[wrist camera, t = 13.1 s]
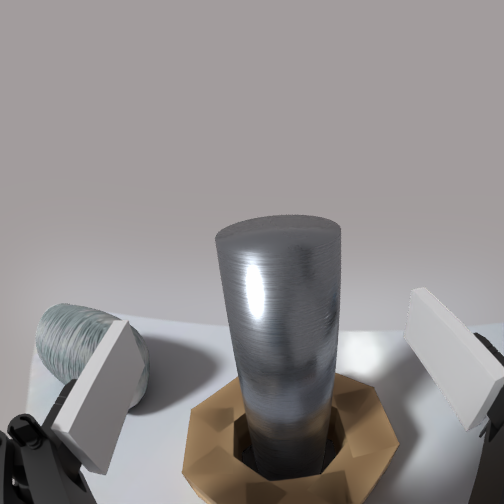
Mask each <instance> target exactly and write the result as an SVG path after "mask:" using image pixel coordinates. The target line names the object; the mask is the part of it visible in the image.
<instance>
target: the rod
mask: <svg viewBox="0 0 504 504" xmlns="http://www.w3.org/2000/svg"><path fill="white" fill-rule="evenodd" d="M215 241H216V248H217V254H218V261H219V268H220V274H221V280H222V286H223V292H224V299H225V305H226V311H227V317H228V322H229V328H230V334H231V339H232V345H233V351H234V356H235V361H236V367H237V372H238V377H239V383H240V388H241V393H242V398H243V403H244V408H245V413H246V418H247V423H248V428H249V432H250V437H251V442H252V446H253V451H254V456H255V460H256V465H257V469H258V473H259V475H261V476H262V477H264V478H265V479H267V480H268V481H279V480H287V479H295V478H302V477H309V476H315V475H319V474H320V472H321V470H322V465H323V460H324V454H325V448H326V442H327V435H328V428H329V421H330V414H331V406H332V397H333V389H334V379H335V369H336V357H337V345H338V330H339V312H340V284H341V228H340V226H339V225H338V224H337V223H335V222H333V221H331V220H329V219H325V218H321V217H316V216H307V215H277V216H267V217H260V218H254V219H250V220H245V221H242V222H238V223H235V224H233V225H230V226H228V227H226V228H224V229H222V230H221V231H220V232H218V234H217V235H216V237H215Z"/></svg>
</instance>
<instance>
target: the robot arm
mask: <svg viewBox="0 0 504 504" xmlns="http://www.w3.org/2000/svg"><path fill="white" fill-rule="evenodd" d="M403 337H404V338H405V340H406V341H407V342H408V344H409V345H410V347H411V348H412V349H413V351H414V352H415V354H416V355H417V357H418V358H419V359H420V361H421V362H422V364H423V365H424V367H425V368H426V370H427V371H428V373H429V374H430V375H431V377H432V378H433V380H434V381H435V383H436V384H437V386H438V388H439V389H440V391H441V392H442V394H443V395H444V397H445V398H446V400H447V401H448V403H449V405H450V406H451V408H452V409H453V411H454V412H455V414H456V416H457V417H458V419H459V421H460V422H461V424H462V425H463V427H464V429H465V430H466V431H468V430H470V429H472V428H474V427H476V426H478V425H480V424H481V422H482V421H483V419H484V418H485V416H486V415H487V416H488V417H489V419H490V420H489V421H488V423H487V424H486V426H485V427H484V429H483V430H482V432H481V433H480V436H479V437H482V436H483V434H484V433H485V431H486V434H485V437H484V438H485V439H484V445H483V450H482V455H481V459H480V464H479V468H478V472H477V476H476V479H475V483H474V486H473V490H472V493H471V496H470V500H469V503H468V504H504V356H503V355H502V354H501V353H500V352H498V350H497V349H496V348H495V347H493V345H492V344H491V343H490V342H489V341H488V340H487V339H486V338H485V337H483V336H482V335H480V334H478V333H472V332H471V331H470V330H469V329H468V328H467V327H466V326H465V325H464V324H463V323H462V322H461V321H460V320H459V319H457V317H456V316H455V315H454V314H453V313H452V312H451V311H450V310H449V309H447V307H445V306H444V305H443V304H442V303H441V302H440V301H439V300H438V299H437V298H436V297H435V296H434V295H433V294H432V293H431V292H429V290H427V289H426V288H425V287H422V288H416V289H412V291H411V298H410V304H409V310H408V316H407V321H406V326H405V331H404V336H403ZM144 367H145V364H144V362H143V359H142V357H141V354H140V351H139V349H138V346H137V343H136V341H135V338H134V335H133V332H132V330H131V327H130V324H129V321H128V320H115V321H113V323H112V325H111V326H110V328H109V329H108V331H107V332H106V334H105V335H104V337H103V339H102V340H101V342H100V343H99V345H98V347H97V348H96V350H95V351H94V353H93V355H92V356H91V358H90V360H89V361H88V363H87V365H86V366H85V368H84V370H83V371H82V373H81V375H80V376H79V378H78V379H72V380H71V381H70V382H69V383H67V384H66V385H65V386H64V388H63V389H62V391H61V393H60V394H59V397H58V398H57V400H56V401H55V404H54V405H53V407H52V408H51V410H50V412H49V414H48V415H47V417H46V419H45V421H44V423H43V424H42V426H40V425H39V424H38V422H37V421H36V420H35V419H34V417H32V416H31V415H30V414H21V415H18V416H16V417H14V418H13V419H12V420H11V421H10V423H9V425H8V430H7V433H8V434H9V435H10V436H11V437H12V438H13V439H9V438H8V437H7V436H6V435H5V433H3V432H2V431H0V504H97V503H96V501H95V499H94V497H93V495H92V493H91V491H90V489H89V486H88V484H87V482H86V480H85V478H84V475H83V474H82V472H81V471H80V467H81V465H83V466H84V467H85V468H86V469H87V470H88V471H89V472H93V473H97V474H102V475H106V474H107V471H108V468H109V465H110V462H111V459H112V455H113V452H114V449H115V446H116V443H117V440H118V438H119V435H120V432H121V429H122V426H123V423H124V420H125V417H126V415H127V412H128V409H129V406H130V404H131V401H132V398H133V395H134V393H135V390H136V387H137V385H138V382H139V380H140V377H141V374H142V372H143V369H144ZM12 478H13V479H14V480H15V484H14V485H13V484H12Z"/></svg>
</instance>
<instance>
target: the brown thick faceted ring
mask: <svg viewBox="0 0 504 504" xmlns="http://www.w3.org/2000/svg"><path fill="white" fill-rule="evenodd" d="M327 439H329V440H331V441H332V442H333V446H334V449H335V453H336V457H335V458H334V460H333V461H332V462H331V463H330V464H329V466H328V467H327V468H326V469H325V470H324V472H323V473H322V474H320V475H315V476H309V477H302V478H295V479H287V480H279V481H268V480H267V479H265V478H264V477H262V476H261V475H259V474H258V473H256V472H255V471H253V470H252V469H250V468H249V467H247V466H246V465H245V464H243V463H242V452H243V451H244V450H245V449H247V448H248V447H249V446H250V445H251V444H252V442H251V437H250V432H249V428H248V423H247V418H246V413H245V408H244V403H243V398H242V393H241V388H240V383H239V377H236V378H235V379H234V380H232V381H231V382H230V383H228V384H227V385H226V386H224V387H223V388H221V389H220V390H219V391H217V392H216V393H214V394H213V395H212V396H210V397H209V398H207V399H206V400H205V401H203V402H202V403H200V404H199V405H197V406H196V407H194V408H193V409H191V415H190V421H189V428H188V434H187V441H186V448H185V455H184V462H183V469H182V474H183V475H184V477H185V478H186V480H187V481H188V483H189V484H190V486H191V487H192V488H193V490H194V491H195V492H196V494H197V495H198V497H199V498H201V499H202V500H204V501H205V502H206V503H207V504H363V502H364V501H365V500H366V498H367V497H368V495H369V494H370V493H371V491H372V490H373V488H374V487H375V485H376V484H377V482H378V481H379V479H380V478H381V476H382V475H383V474H384V473H385V471H386V469H387V467H388V465H389V464H390V462H391V460H392V458H393V456H394V454H395V452H396V450H397V448H398V447H399V445H400V444H399V442H398V440H397V438H396V435H395V433H394V431H393V429H392V426H391V424H390V422H389V420H388V417H387V415H386V413H385V411H384V409H383V407H382V404H381V402H380V400H379V398H378V396H377V394H376V392H375V389H374V387H372V386H369V385H366V384H363V383H361V382H358V381H355V380H353V379H350V378H348V377H345V376H343V375H340V374H337V373H335V379H334V389H333V397H332V406H331V414H330V421H329V428H328V435H327Z"/></svg>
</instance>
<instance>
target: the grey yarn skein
mask: <svg viewBox="0 0 504 504" xmlns="http://www.w3.org/2000/svg"><path fill="white" fill-rule="evenodd" d="M115 320H121V319H119V318H117V317H115V316H113V315H110V314H108V313H106V312H103V311H100V310H96V309H92V308H88V307H83V306H77V305H70V304H59V305H55V306H53V307H51V308H49V309H48V310H47V311H46V312H45V313H44V315H43V316H42V318H41V320H40V322H39V325H38V328H37V332H36V347H37V351H38V354H39V357H40V359H41V360H42V362H43V364H44V365H45V366H46V367H47V369H48V370H49V371H50V372H51V373H52V374H53V375H54V376H55V377H56V378H57V379H58V380H59V381H61V382H62V383H63V384H64V385H66V384H67V383H69V382H70V381H71V380H72V379H78V378H79V376H80V375H81V373H82V371H83V370H84V368H85V366H86V365H87V363H88V361H89V360H90V358H91V356H92V355H93V353H94V351H95V350H96V348H97V347H98V345H99V343H100V342H101V340H102V339H103V337H104V335H105V334H106V332H107V331H108V329H109V328H110V326H111V325H112V323H113V321H115ZM130 327H131V330H132V332H133V335H134V338H135V341H136V343H137V346H138V349H139V351H140V354H141V357H142V359H143V362H144V364H145V367H144V369H143V372H142V374H141V377H140V380H139V382H138V385H137V387H136V390H135V393H134V395H133V398H132V401H131V404H130V406H129V409H130V408H132V407H133V406H135V405H136V404H137V403H139V402H140V400H141V398H142V397H143V395H144V394H145V392H146V388H147V385H148V378H149V371H150V368H149V353H148V349H147V347H146V344H145V342H144V340H143V338H142V337H141V335H140V334H139V333H138V331H137V330H136V329H135V328H133V327H132V326H131V325H130Z"/></svg>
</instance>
